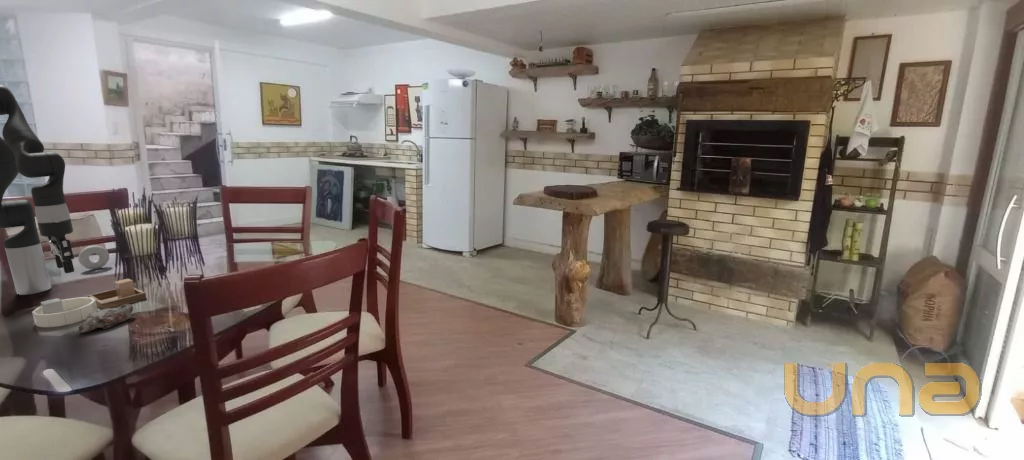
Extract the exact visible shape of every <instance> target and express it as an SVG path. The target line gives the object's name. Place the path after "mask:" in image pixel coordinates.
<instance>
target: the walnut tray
mask: <svg viewBox="0 0 1024 460" xmlns="http://www.w3.org/2000/svg"><path fill="white" fill-rule="evenodd" d="M134 289H135V294H136V295H132V296H128V297H124V298H120V299H119V298H118V296H117V292H116V288H114V289H109V290H105V291H104V290H103V291H101V292H97V293H93V294H88V295H87V297H91V298H93V299H95V300H96V304H97V308H99V309H100V310H103V309H107V308H110V309H113V308H118V307H120V306H122V305H124V304H130V303H131V304H132V303H135V302H139V301H144V300H146V299H147V294H146V292H144V291H143V290H140V289H139V288H137V287H135V286H134Z"/></svg>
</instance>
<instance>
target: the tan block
mask: <svg viewBox="0 0 1024 460" xmlns="http://www.w3.org/2000/svg"><path fill="white" fill-rule="evenodd" d="M114 286H115V289H116V292H117V296H118V298H119V299H120V298H124V297H128V296H132V295H136V294H135V289H134V287H135V284H134V280H133V279H130V278H125V279H121V280H120V279H119V280H116V281H114Z"/></svg>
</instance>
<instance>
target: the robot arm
mask: <svg viewBox="0 0 1024 460" xmlns="http://www.w3.org/2000/svg"><path fill="white" fill-rule="evenodd" d="M5 115H8V117H7V120H6V122H5V123H4V125H3V128H2V131H1V135H2V137H1V136H0V229H10V228H19V227H23V229H22V230H21V231H19V232H17V233H15V234H14V235H11V236H8V237H7V238H5V239H4V240H3V243H2V244H3V245H4V246H3V247H4V250H5V253H6V257H7V261H8V265H9V269H10V273H11V276H12V277H11V278H12V280H13V284H14V289H15V291H16V294H17V295H18V294H19V296H27V295H34V294H39V293H42V292H46V291H49V290H50V289H51V288H52V283H51V280H50V276H49V272H48V268H47V264H46V260H45V256H44V251H43V248H42V243H41V240H40V236H41V237H44V238H45V237H46V238H47V239H48V244H49V248H50V252H51V254H52V256H53V257H54V259H55V263H56V267H57V268H58V269H63V272H64V273H65V274H69V273H70V274H71V273H74V272H75V268H74V264H73V260H74V259H75V256H74V253H73V249H72V245H71V240H70V239H67V237H66V236H67V235H70V234H72V233H73V232H74V228H73V223H72V220H71V219H72V218H71V214H70V210H69V208H68V205H67V202H66V198H65V194H64V193H65V192H64V177H65V170H66V162H65V159H64V158H63V157H62V156H61V155H60V154H59V153H57V152H53V151H50V152H49V151H48V152H44V151H45V146H44V144H43V142H41V140H40V139H39V137H38V136H37V135H36V133H35V132H34V131H33V129H32V128H31V127H30V125H29V123H28V121H27V119H26V117H25V114H24V112H23V111H22V108H21V107H20V105H19V103H18V101H17V99H16V97H15V95H14V94H13V92H12V91H11V90H10V89H9V88H8V87H7V86H5V85H3V84H0V116H5ZM19 174H20V175H21V176H23V177H26V178H30V179H33V178H34V179H35V178H44V177H48V179H47V181H46V182H45V183H42V184H38V185H35V186H33V187H32V188H31V190H30V193H31V196H32V200H33V201H32V202H33V204H32V203H31V201H30V200H28V199H15V200H6V201H3V198H4V196H5V193H6V191H7V189H8V188H9V187H10V185H12V183H13V182H14V180H15V179H16V178H17V176H18V175H19ZM33 205H34V207H33ZM37 226H38V227H37ZM38 230H39V233H38ZM39 234H40V236H39Z"/></svg>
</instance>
